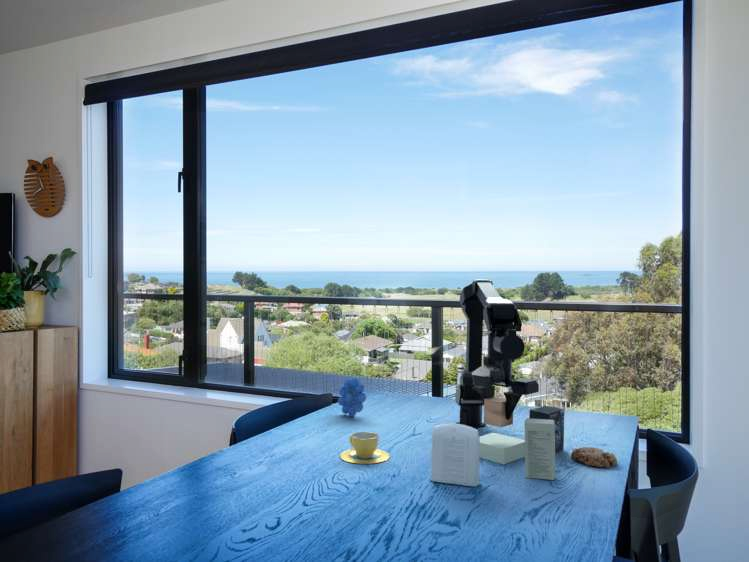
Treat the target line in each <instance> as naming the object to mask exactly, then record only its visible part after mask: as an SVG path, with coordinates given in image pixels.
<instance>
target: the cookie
mask: <svg viewBox="0 0 749 562" xmlns="http://www.w3.org/2000/svg"><path fill="white" fill-rule="evenodd" d="M570 455H571V456H570V457H571V459H573V461H576V462H581V463H583V464H584V465H586V466H589V467H590V466H591V467H592V466H593V467H598V468H608V469H610V468H614V467H616V466H617V465H618V460H617V457H616V456H615V454H614V453H613V452H611V453H610V452H606V451H604V450H603V449H601V448H597V447H593V446H592V447H590V446H583V447H578V448H575V449H573V451H572V452H571V454H570ZM613 466H614V467H613Z"/></svg>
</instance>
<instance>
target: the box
mask: <svg viewBox="0 0 749 562" xmlns="http://www.w3.org/2000/svg"><path fill="white" fill-rule="evenodd" d="M565 412H566V411H565V409H564V408H561V407H556V406H550V405H543V406H539V407H535V408H531V409H529V418H530V419H547V420H554V424H555V454H556V453H559V452H562V451H564V450H565V448H564V444H565V439H564V438H565Z"/></svg>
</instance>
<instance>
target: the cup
mask: <svg viewBox="0 0 749 562" xmlns="http://www.w3.org/2000/svg"><path fill="white" fill-rule="evenodd" d="M379 437H380V435H379V434H378V433H376V432H372V431H358V432H355V433H353V434H352V435H350V436H349V445H350V446H351V447H353V448H352V449H347V450H345V451H343V452H341V453H340V455H339V458H340V459H341V460H342V461H345V462H348V463H352V464H358V465H359V464H360V465H361V464H362V465H372V464H378V463H379V464H380V463H382V462H386V461H388V460H389V458H390V456H391V455H390V454H389V453H388V452H387V451H384V450H382V449H381V450H380V449H378V446H379ZM354 455H356V456H357V457H358V458H360V459H356V458H354V457H353V456H354ZM374 455H375V456H376V458H374V459H371V458H373V456H374ZM361 459H362V460H361ZM365 459H366V460H365Z"/></svg>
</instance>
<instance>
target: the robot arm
mask: <svg viewBox="0 0 749 562" xmlns="http://www.w3.org/2000/svg"><path fill="white" fill-rule="evenodd" d="M459 303H460V306H461V312H462V313H463V315H464V316H465V318H466V342H465V343H466V345H465V346H466V347H465V352H466V353H465V369H464V371H463V373H462V374H461V376H460V377H459V384H457V388H456V392H455V394H454V397H455V398H454V399H455V404H457V405H458V406H459V407H460V408H459V421H457V422H455V424H462V425H466V426H469V427H472V428H474V429H478V428H481V427H484V426H487V424H484V422H483V421H482V420H483V406H484V399H486V398H491V397H495V390H496V386H497V387H503V388H507V391H505V392H503V395H504V398H506V420H509V419H510V418H511V416H512V413H513V414H514V411H515V409H516V408H517V405H518V403H519V402H520V400H521V398H522V397H523V396H528V395H532V394H536V393H539V392H540V391H539V387H540V384H539V383H538V382H537V380H536V379H530V378H525V377H524V378H519V379H515V374H513V373H512V363H515V360H517V359H519V358H521V356H522V355H523V354H524V352H525V348H526V346H525V342H524V340H523V339H522V337H520V335H517V332H522V326H523V323H522V319H521V317H520V313H519V311H518V308H517V307H516V305H515V303H514V302H512V301H511V300H510V299H505V298H503V297H501V295H500V294H499V292H498V291H497V289H496V287H494V284H493V281H492V280H490V279H475V280H472V283H470V284H468V285H466V286H465V287H463V288H462V289H461V292H460V294H459ZM484 324H485V327H486V330H487V332H488V333H487V356H486V357H484V359H483V336H484V335H483V334H484V333H483V332H484V327H483V326H484ZM482 364H483V365H482ZM514 379H515V380H514Z"/></svg>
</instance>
